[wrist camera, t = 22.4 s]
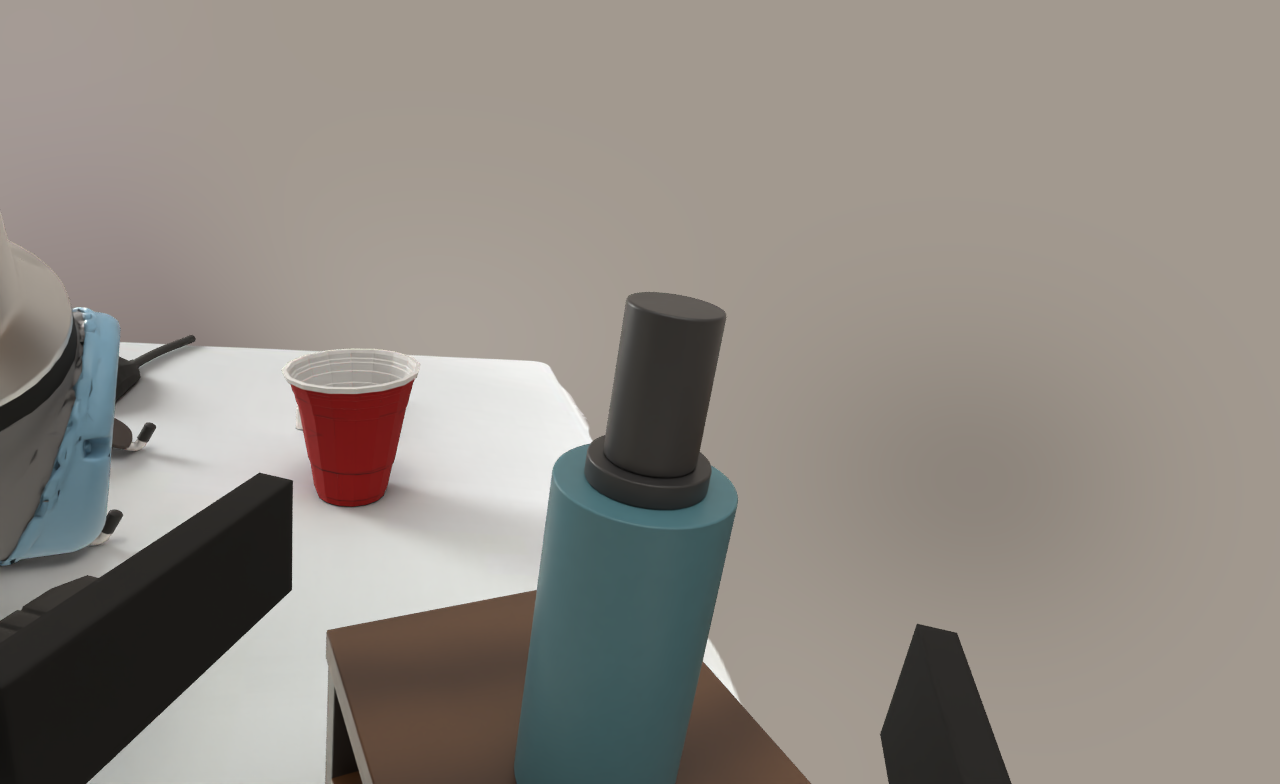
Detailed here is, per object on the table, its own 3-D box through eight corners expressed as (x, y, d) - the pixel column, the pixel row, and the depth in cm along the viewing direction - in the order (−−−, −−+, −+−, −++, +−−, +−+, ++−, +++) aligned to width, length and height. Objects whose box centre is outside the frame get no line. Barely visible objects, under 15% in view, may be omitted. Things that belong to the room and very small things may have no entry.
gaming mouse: (163, 365, 88) (162, 331, 87) (101, 415, 75) (98, 376, 73) (101, 359, 87) (99, 325, 86) (26, 409, 73) (21, 370, 72)
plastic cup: (313, 456, 74) (315, 334, 70) (427, 473, 74) (435, 353, 70) (257, 511, 63) (255, 372, 59) (390, 530, 64) (397, 394, 60)
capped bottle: (480, 754, 29) (534, 282, 23) (600, 688, 33) (670, 276, 27) (589, 872, 25) (685, 344, 19) (707, 781, 29) (816, 326, 23)
